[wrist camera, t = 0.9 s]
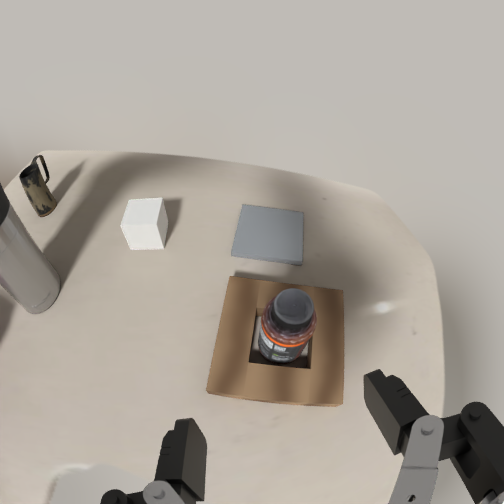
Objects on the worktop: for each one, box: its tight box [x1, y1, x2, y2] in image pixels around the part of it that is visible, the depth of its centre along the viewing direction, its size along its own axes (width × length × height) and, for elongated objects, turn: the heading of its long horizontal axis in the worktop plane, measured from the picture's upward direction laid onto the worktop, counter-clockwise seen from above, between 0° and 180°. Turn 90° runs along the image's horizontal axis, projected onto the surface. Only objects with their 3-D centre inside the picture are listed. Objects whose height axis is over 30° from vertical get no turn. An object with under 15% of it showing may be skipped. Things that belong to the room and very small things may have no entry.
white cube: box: [120, 198, 169, 250], centre depth 44 cm, size 6×6×6 cm
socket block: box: [206, 276, 344, 407], centre depth 34 cm, size 16×16×2 cm
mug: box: [19, 155, 57, 217], centre depth 46 cm, size 8×6×12 cm
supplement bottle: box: [258, 288, 317, 364], centre depth 31 cm, size 6×6×11 cm
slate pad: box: [231, 205, 303, 265], centre depth 47 cm, size 11×11×1 cm
